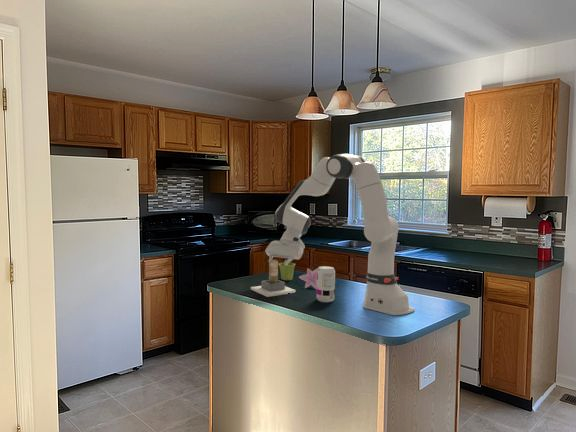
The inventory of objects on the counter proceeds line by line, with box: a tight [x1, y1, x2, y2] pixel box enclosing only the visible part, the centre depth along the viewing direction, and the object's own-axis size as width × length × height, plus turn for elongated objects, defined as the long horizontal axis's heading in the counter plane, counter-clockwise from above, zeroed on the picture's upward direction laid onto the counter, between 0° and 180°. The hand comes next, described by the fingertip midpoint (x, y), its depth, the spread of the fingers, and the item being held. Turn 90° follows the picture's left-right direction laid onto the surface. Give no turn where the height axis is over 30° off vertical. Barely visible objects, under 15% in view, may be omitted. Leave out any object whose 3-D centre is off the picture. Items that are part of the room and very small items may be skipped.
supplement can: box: [315, 265, 336, 303], centre depth 189 cm, size 8×8×15 cm
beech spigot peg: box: [268, 259, 279, 284], centre depth 204 cm, size 4×4×14 cm
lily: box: [298, 267, 319, 290], centre depth 214 cm, size 12×12×10 cm
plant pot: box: [278, 262, 296, 281], centre depth 230 cm, size 9×9×9 cm
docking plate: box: [250, 279, 296, 298], centre depth 204 cm, size 16×16×5 cm
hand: (277, 263), depth 206 cm, fingers open, 8 cm apart
